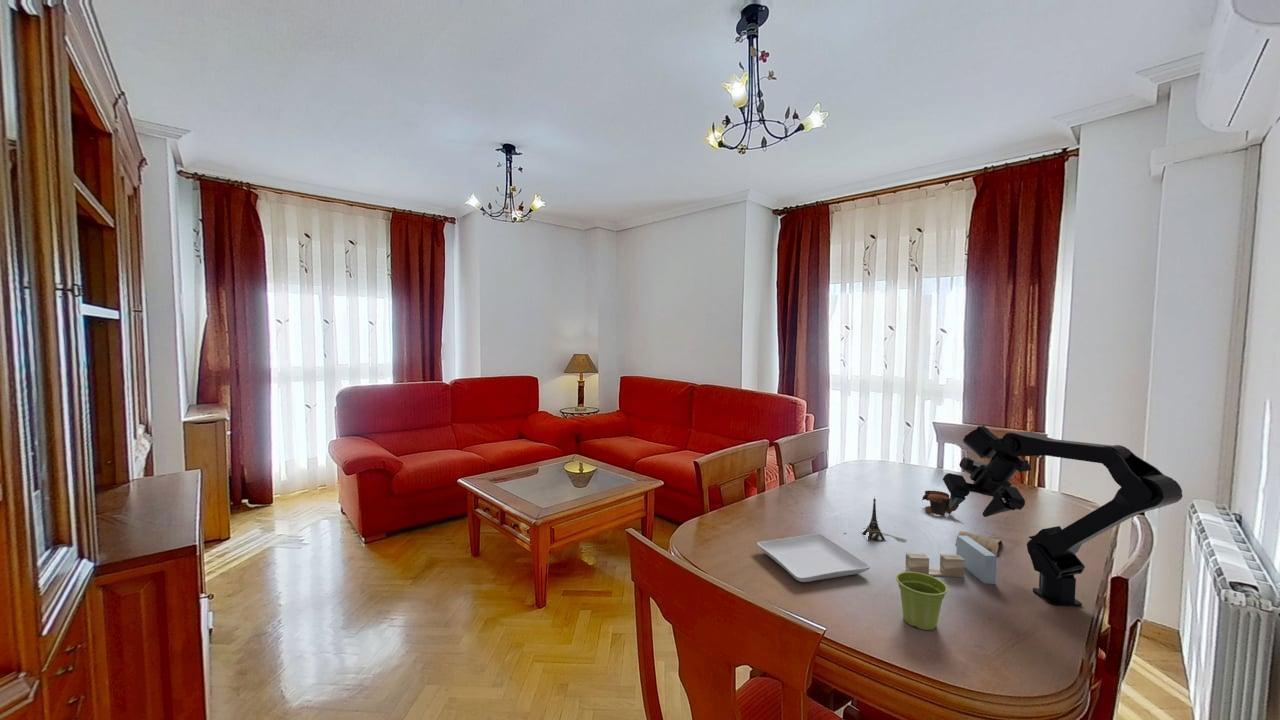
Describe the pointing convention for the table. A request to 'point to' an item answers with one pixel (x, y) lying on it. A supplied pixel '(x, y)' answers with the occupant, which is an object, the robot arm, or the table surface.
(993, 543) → the clay tablet
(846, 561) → the salad plate
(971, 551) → the pale blue plank
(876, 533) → the eiffel tower figurine
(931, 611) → the plant pot
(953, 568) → the maple rail
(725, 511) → the table surface
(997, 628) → the table surface
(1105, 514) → the robot arm
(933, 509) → the pottery mug
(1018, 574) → the table surface
